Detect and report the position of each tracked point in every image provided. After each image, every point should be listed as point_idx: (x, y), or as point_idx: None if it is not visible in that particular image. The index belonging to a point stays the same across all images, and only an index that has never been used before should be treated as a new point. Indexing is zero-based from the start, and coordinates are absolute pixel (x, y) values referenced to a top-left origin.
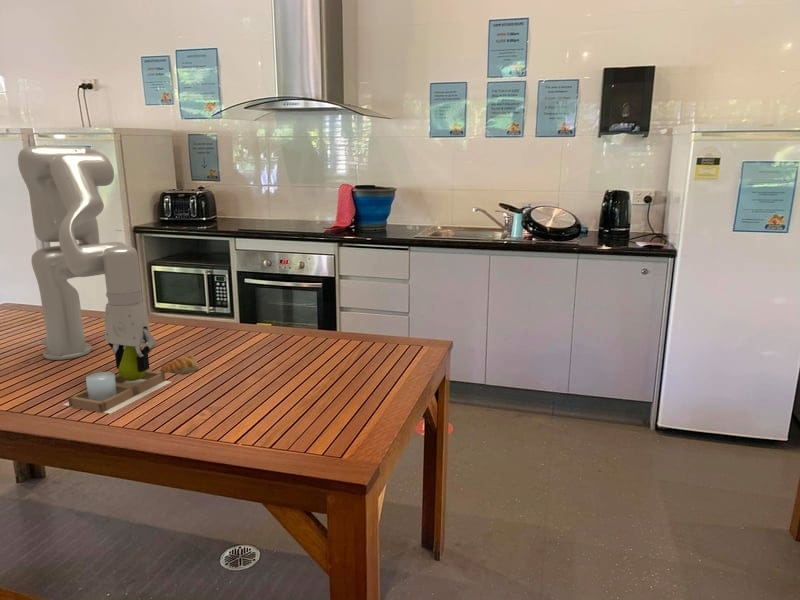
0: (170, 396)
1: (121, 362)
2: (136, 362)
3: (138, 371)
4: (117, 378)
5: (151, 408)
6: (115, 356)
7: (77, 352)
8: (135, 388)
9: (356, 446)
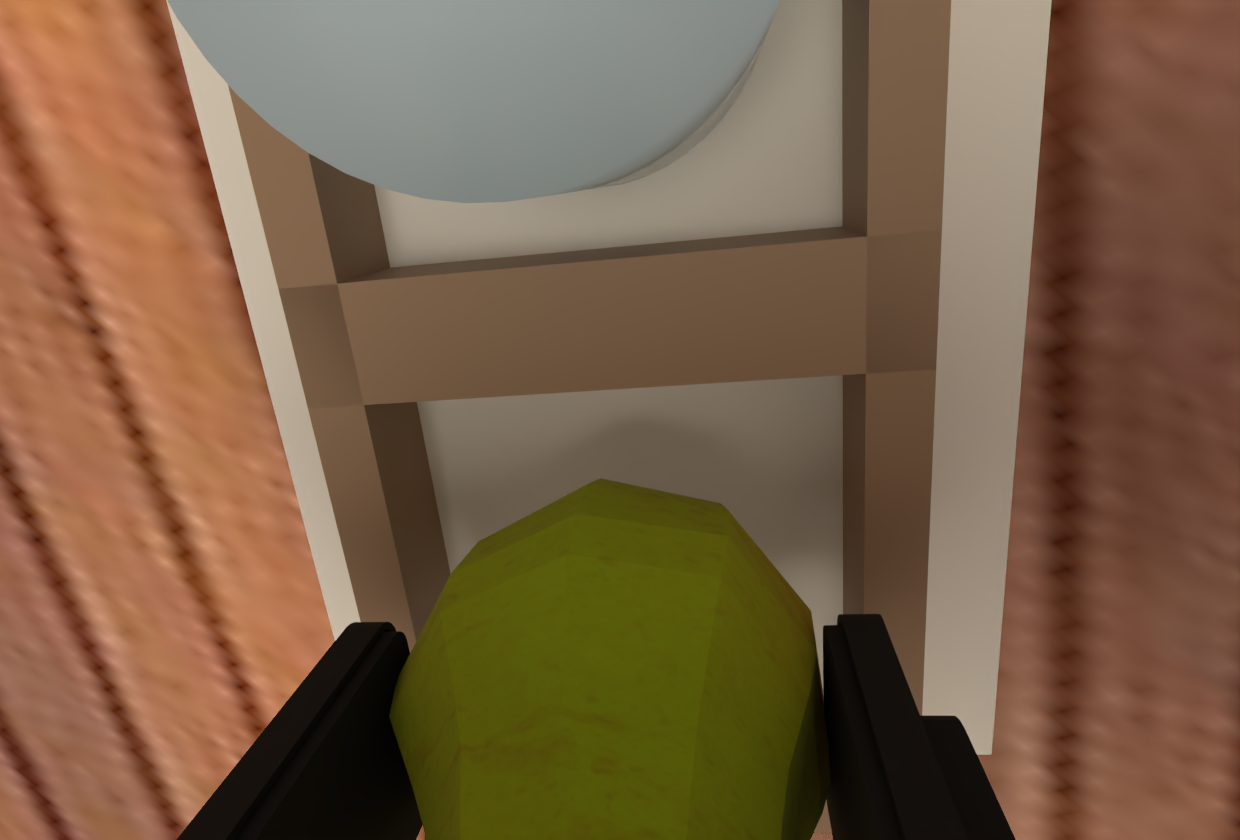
0: (180, 523)
1: (662, 668)
2: (412, 776)
3: (381, 623)
4: (860, 521)
5: (52, 215)
6: (948, 815)
7: None
8: (302, 347)
9: None
